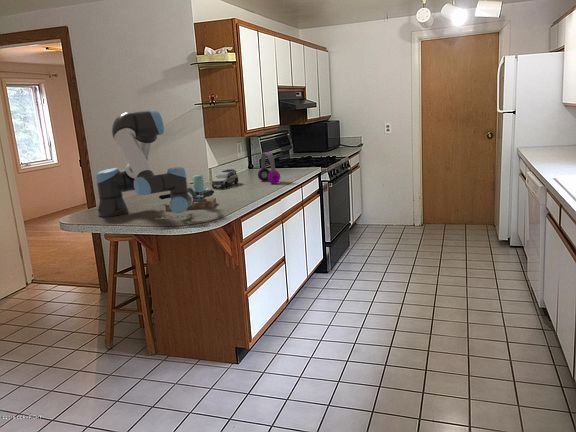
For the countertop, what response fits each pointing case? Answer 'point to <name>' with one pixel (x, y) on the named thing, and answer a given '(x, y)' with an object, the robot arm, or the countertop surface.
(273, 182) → the headphones
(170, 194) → the toy
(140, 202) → the countertop surface
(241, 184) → the countertop surface
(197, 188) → the peg
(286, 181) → the countertop surface
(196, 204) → the pocket block
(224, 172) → the toy car
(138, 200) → the countertop surface
